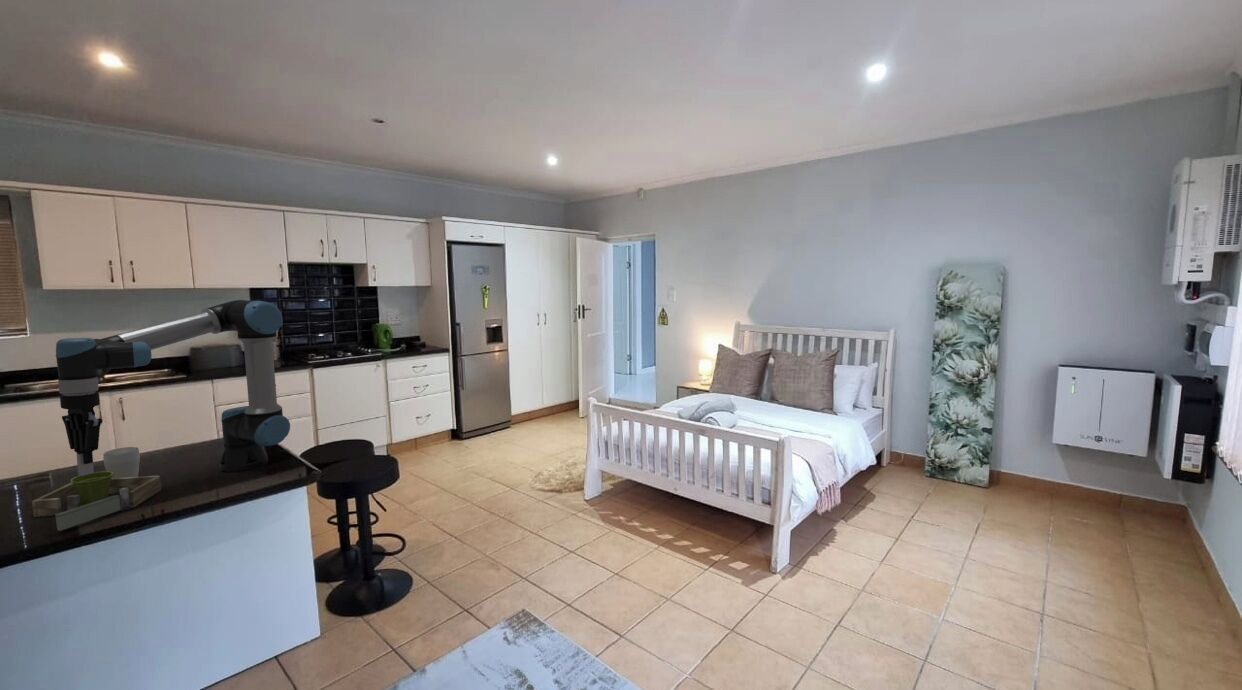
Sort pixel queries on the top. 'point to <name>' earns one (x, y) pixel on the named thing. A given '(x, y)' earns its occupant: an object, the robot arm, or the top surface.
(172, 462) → the top surface
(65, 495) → the pen walls
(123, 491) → the hinge post
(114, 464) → the cup
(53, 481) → the top surface
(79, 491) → the plant pot
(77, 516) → the gate
